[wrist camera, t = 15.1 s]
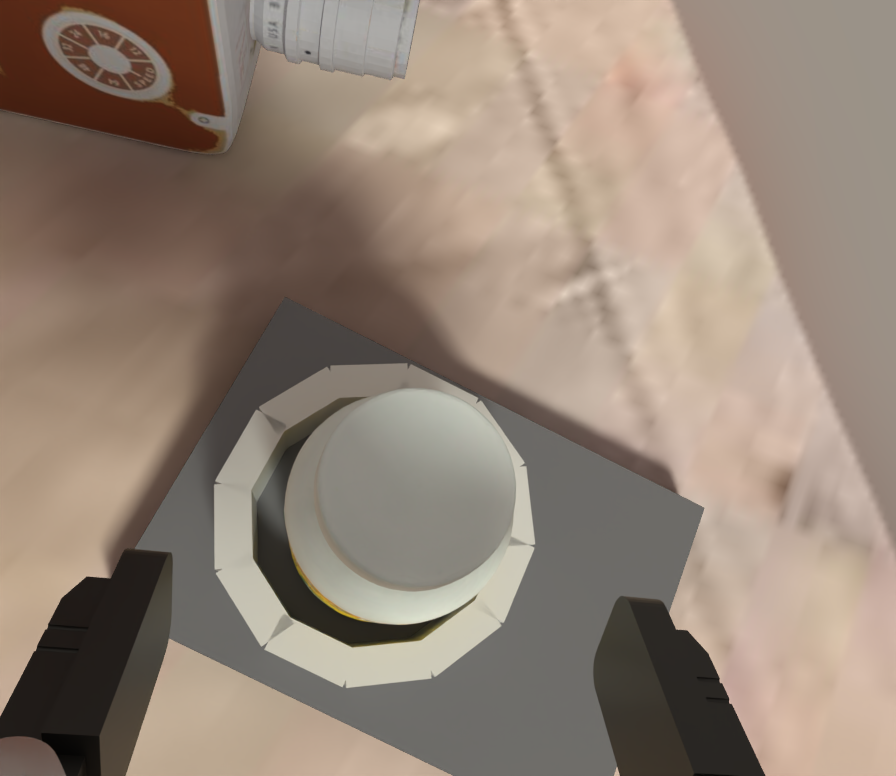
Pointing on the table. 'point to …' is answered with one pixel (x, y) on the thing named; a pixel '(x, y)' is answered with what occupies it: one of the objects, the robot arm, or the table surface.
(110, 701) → the robot arm
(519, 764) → the mount plate
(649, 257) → the table surface
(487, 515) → the supplement bottle
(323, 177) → the table surface
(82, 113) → the cine camera
